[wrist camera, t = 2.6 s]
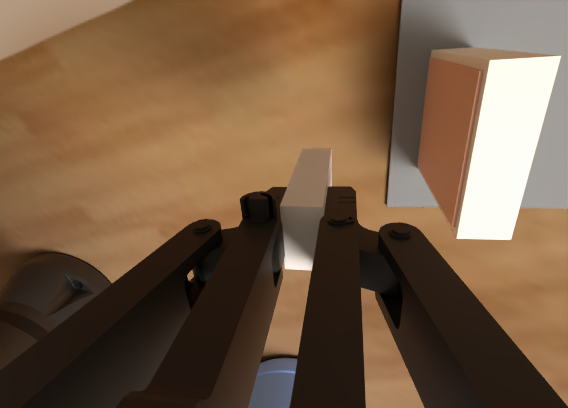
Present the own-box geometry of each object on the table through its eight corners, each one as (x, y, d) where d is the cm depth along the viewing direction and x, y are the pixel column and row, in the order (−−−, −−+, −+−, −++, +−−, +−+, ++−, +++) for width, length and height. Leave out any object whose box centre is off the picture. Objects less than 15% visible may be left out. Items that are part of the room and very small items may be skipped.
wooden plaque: (415, 168, 31) (452, 238, 20) (428, 50, 26) (485, 60, 16) (452, 168, 30) (511, 239, 20) (472, 47, 26) (561, 55, 15)
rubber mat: (386, 204, 33) (387, 206, 33) (401, -6, 25) (403, -6, 25) (616, 206, 30) (621, 208, 29) (718, -36, 22) (726, -38, 22)
